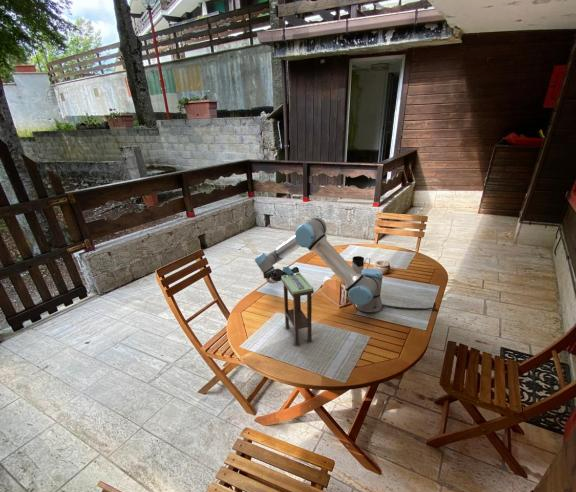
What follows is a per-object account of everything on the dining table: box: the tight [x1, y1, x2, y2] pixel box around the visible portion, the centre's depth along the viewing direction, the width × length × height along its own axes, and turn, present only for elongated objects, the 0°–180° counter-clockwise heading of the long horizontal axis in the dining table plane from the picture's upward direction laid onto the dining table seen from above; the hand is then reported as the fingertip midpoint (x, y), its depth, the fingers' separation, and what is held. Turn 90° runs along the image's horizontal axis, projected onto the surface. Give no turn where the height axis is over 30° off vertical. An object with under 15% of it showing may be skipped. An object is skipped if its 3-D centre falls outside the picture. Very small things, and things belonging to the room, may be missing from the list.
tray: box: [281, 272, 314, 294], centre depth 148 cm, size 18×10×1 cm, turn 18°
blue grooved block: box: [282, 266, 304, 290], centre depth 153 cm, size 24×3×1 cm, turn 18°
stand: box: [280, 278, 315, 346], centre depth 156 cm, size 18×10×30 cm, turn 18°
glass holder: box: [351, 255, 371, 274], centre depth 214 cm, size 9×14×15 cm, turn 113°
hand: (284, 271), depth 165 cm, fingers open, 13 cm apart
